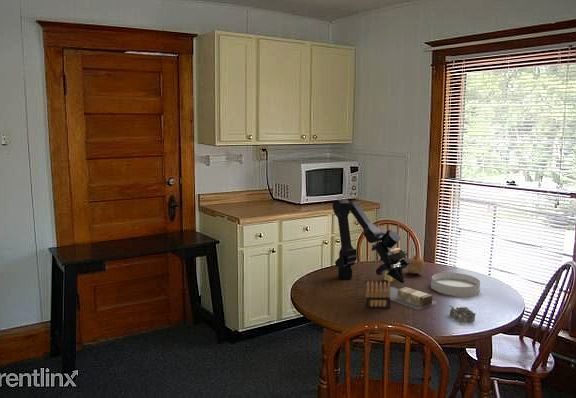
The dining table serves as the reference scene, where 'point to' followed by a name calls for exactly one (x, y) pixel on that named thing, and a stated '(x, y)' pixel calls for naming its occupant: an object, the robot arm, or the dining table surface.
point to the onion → (416, 265)
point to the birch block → (414, 296)
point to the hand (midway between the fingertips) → (403, 282)
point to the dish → (456, 284)
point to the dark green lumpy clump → (463, 314)
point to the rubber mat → (394, 298)
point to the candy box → (387, 271)
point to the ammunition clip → (377, 296)
